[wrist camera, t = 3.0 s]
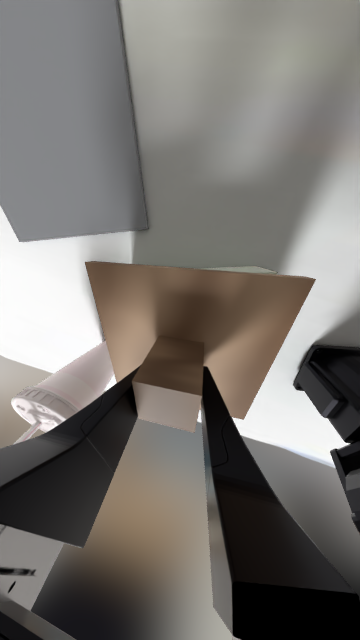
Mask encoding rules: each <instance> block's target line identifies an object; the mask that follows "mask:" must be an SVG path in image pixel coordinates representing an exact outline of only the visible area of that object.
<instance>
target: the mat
mask: <svg viewBox="0 0 360 640" xmlns="http://www.w3.org/2000/svg"><path fill="white" fill-rule="evenodd" d="M0 205H1V207H2V209H3V211H4V213H5V215H6V217H7V219H8V221H9V223H10V224H11V226H12V228H13V230H14V232H15V234H16V236H17V238H18V240H19V242H29V241H38V240H48V239H57V238H67V237H77V236H86V235H96V234H105V233H115V232H124V231H134V230H143V229H148V222H147V214H146V207H145V199H144V192H143V184H142V177H141V170H140V162H139V155H138V147H137V140H136V132H135V125H134V118H133V110H132V103H131V95H130V88H129V80H128V73H127V65H126V58H125V51H124V43H123V36H122V28H121V21H120V13H119V6H118V0H0Z"/></svg>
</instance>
